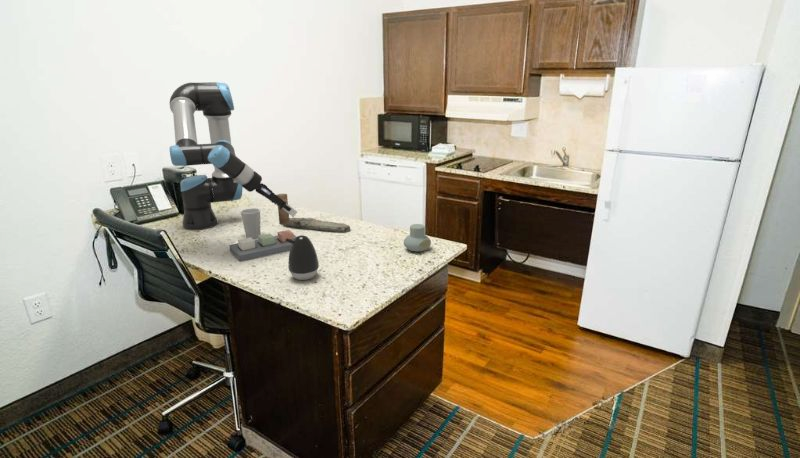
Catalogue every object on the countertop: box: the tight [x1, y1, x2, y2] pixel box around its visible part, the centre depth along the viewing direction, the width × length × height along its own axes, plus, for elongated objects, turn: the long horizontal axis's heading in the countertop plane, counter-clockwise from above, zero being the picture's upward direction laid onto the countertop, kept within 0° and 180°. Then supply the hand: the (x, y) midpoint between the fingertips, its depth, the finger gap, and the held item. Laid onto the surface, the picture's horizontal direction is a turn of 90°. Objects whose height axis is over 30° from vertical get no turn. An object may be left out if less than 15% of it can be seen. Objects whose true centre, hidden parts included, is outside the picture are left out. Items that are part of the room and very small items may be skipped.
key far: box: [276, 229, 295, 242], centre depth 178 cm, size 5×5×3 cm
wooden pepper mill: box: [276, 193, 290, 226], centre depth 174 cm, size 4×4×12 cm
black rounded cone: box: [286, 234, 320, 281], centre depth 147 cm, size 10×10×15 cm
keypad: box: [228, 234, 298, 262], centre depth 174 cm, size 14×26×2 cm, turn 126°
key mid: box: [258, 233, 275, 246], centre depth 173 cm, size 5×5×3 cm
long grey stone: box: [284, 217, 351, 233], centre depth 201 cm, size 35×5×10 cm
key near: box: [237, 237, 255, 251], centre depth 169 cm, size 5×5×3 cm
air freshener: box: [403, 223, 432, 253], centre depth 172 cm, size 11×8×10 cm
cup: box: [240, 207, 262, 240], centre depth 187 cm, size 8×8×12 cm
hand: (292, 213), depth 177 cm, fingers closed on wooden pepper mill, 4 cm apart
